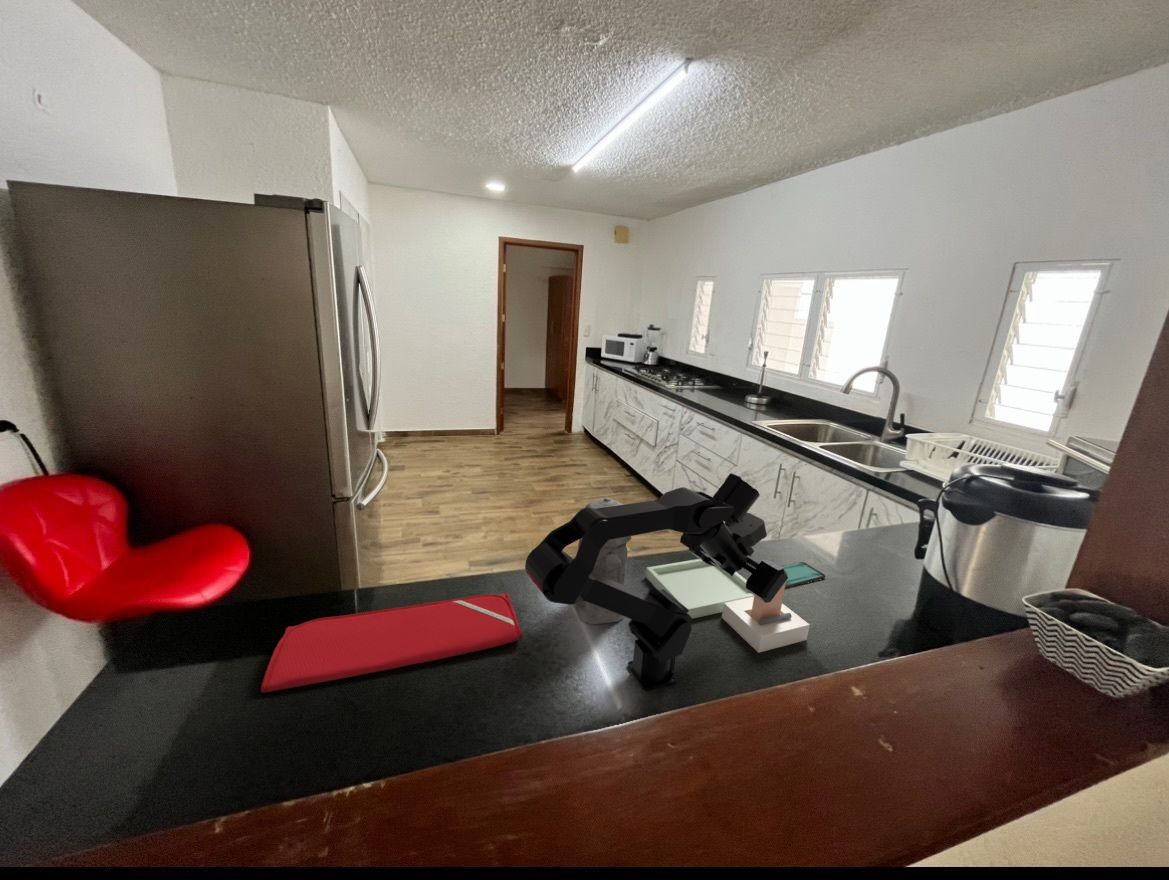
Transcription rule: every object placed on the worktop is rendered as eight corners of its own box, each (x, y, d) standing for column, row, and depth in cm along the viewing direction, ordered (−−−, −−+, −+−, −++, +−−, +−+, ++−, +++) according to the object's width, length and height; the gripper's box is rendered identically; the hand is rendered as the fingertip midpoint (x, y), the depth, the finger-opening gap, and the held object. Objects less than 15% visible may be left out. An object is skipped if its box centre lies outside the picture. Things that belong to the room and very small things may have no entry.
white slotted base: (758, 652, 86) (762, 632, 85) (721, 617, 96) (724, 598, 95) (806, 639, 91) (810, 620, 90) (766, 607, 101) (770, 589, 100)
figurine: (608, 587, 105) (616, 484, 99) (630, 626, 92) (641, 511, 85) (567, 591, 102) (572, 486, 96) (583, 633, 89) (590, 514, 83)
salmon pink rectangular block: (757, 634, 92) (766, 586, 89) (748, 626, 94) (756, 579, 91) (776, 629, 93) (786, 582, 91) (768, 622, 96) (776, 575, 93)
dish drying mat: (288, 633, 86) (286, 615, 85) (508, 600, 99) (508, 585, 98) (261, 698, 71) (258, 678, 70) (522, 650, 85) (523, 632, 84)
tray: (685, 620, 95) (686, 609, 94) (645, 576, 110) (646, 567, 109) (761, 603, 102) (763, 593, 101) (714, 564, 117) (716, 556, 117)
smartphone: (759, 570, 114) (803, 560, 120) (758, 575, 114) (802, 565, 120) (782, 586, 108) (827, 575, 114) (781, 591, 108) (826, 579, 114)
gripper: (790, 526, 73) (820, 572, 81) (706, 486, 89) (739, 529, 97) (748, 581, 71) (784, 623, 79) (670, 531, 87) (707, 570, 95)
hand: (751, 581), depth 88 cm, fingers open, 9 cm apart
